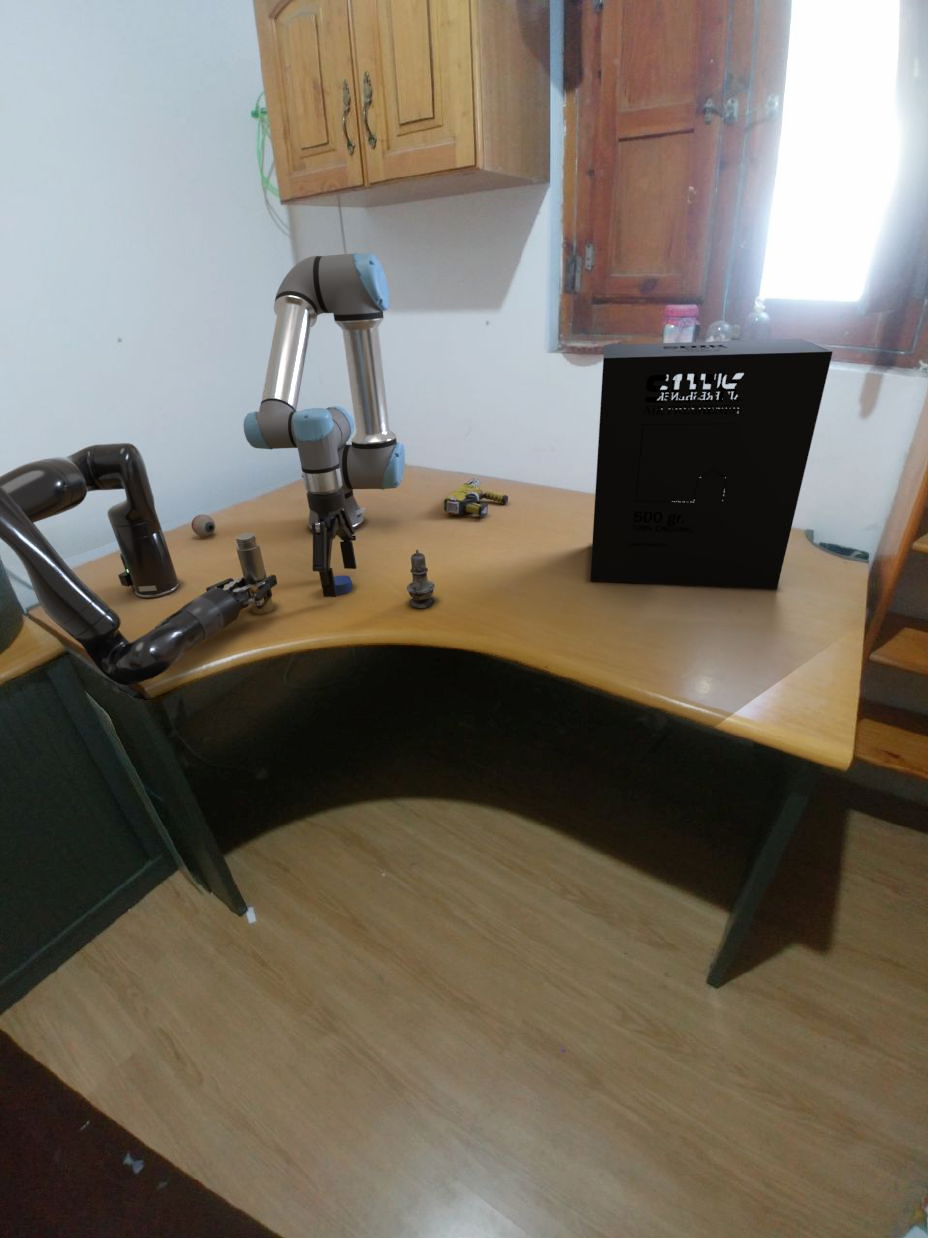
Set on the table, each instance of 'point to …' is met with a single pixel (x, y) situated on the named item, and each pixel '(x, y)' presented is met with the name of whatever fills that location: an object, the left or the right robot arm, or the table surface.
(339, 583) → the lid
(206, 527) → the eyeball
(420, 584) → the grey chess piece
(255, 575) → the bottle
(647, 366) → the cardboard box
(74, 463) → the left robot arm
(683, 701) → the table surface
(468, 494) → the toy gun
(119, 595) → the table surface
